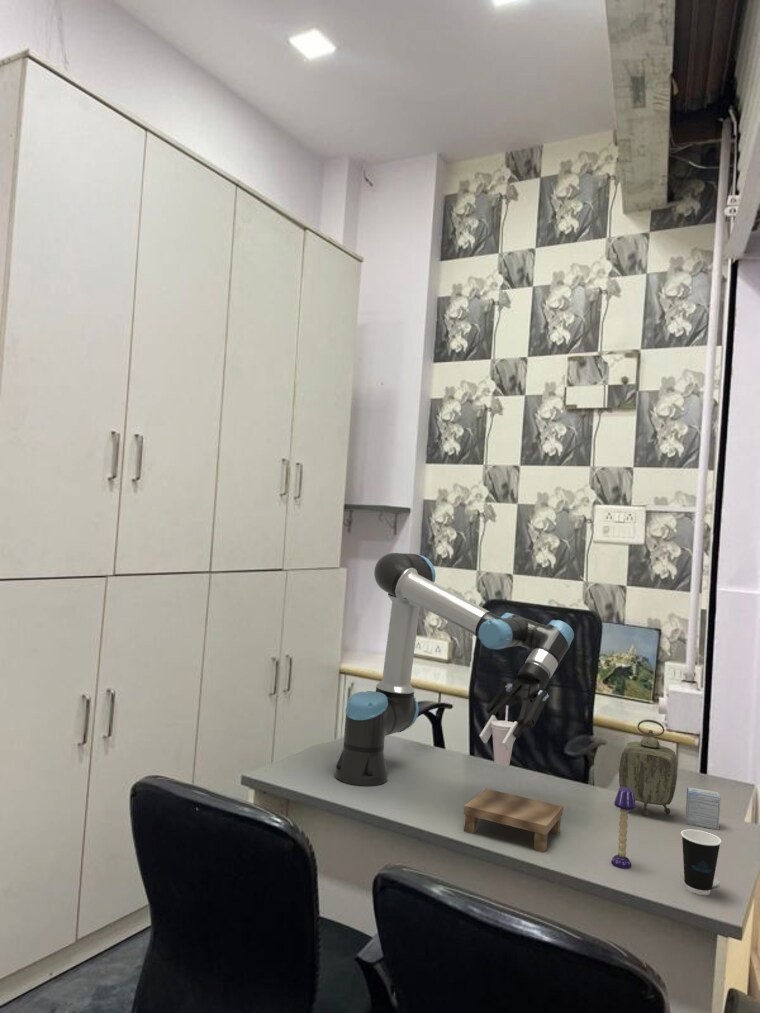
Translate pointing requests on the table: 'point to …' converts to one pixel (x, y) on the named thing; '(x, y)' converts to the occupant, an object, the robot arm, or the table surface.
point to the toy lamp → (623, 824)
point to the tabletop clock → (649, 770)
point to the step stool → (514, 814)
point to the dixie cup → (699, 860)
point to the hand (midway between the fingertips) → (494, 742)
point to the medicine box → (702, 808)
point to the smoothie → (501, 740)
